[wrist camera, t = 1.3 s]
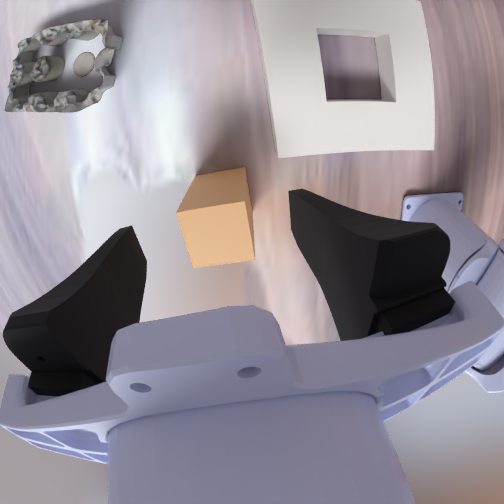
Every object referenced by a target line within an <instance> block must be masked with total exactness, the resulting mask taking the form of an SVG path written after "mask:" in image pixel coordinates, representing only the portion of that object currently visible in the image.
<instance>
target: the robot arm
mask: <svg viewBox="0 0 504 504" xmlns="http://www.w3.org/2000/svg"><path fill="white" fill-rule="evenodd" d="M462 203H463V194H462V193H461V192H454V193H438V194H424V195H411V196H406V197H405V198H404V200H403V209H402V218H401V220H395V219H389V218H384V217H380V216H375V215H371V214H367V213H364V212H360V211H357V210H354V209H351V208H348V207H346V206H343V205H340V204H338V203H335V202H333V201H330V200H328V199H326V198H324V197H321V196H319V195H317V194H314V193H312V192H310V191H307V190H304V189H297V190H292V191H289V204H290V218H291V230H292V233H293V235H294V238H295V240H296V243H297V245H298V247H299V249H300V251H301V252H302V254H303V256H304V258H305V259H306V261H307V263H308V264H309V266H310V268H311V270H312V271H313V273H314V275H315V277H316V278H317V280H318V282H319V284H320V286H321V288H322V291H323V293H324V295H325V298H326V300H327V303H328V305H329V308H330V311H331V313H332V316H333V319H334V322H335V325H336V327H337V330H338V334H339V337H340V340H341V341H336V342H325V343H312V344H297V345H285V342H284V339H283V336H282V332H281V329H280V326H279V324H278V322H277V321H276V319H275V317H274V316H273V314H272V313H271V312H269V311H266V310H263V309H261V308H258V307H256V306H252V305H248V306H228V307H223V308H218V309H213V310H208V311H203V312H198V313H192V314H187V315H182V316H176V317H171V318H165V319H159V320H153V321H147V322H142V323H139V320H140V313H141V307H142V301H143V294H144V288H145V283H146V272H147V260H146V258H145V256H144V253H143V251H142V249H141V246H140V244H139V241H138V239H137V237H136V234H135V232H134V229H133V227H132V226H129V227H124V228H121V229H119V230H118V231H117V232H115V233H114V234H113V235H112V236H111V237H110V238H109V239H108V240H107V241H106V242H105V243H104V244H103V245H102V246H101V247H100V248H99V249H98V250H97V251H96V252H95V253H94V254H93V255H92V256H90V258H88V259H87V260H86V261H85V262H84V263H83V264H82V265H81V266H80V267H79V268H78V269H77V270H76V271H75V272H73V273H72V274H71V275H70V276H69V277H68V278H66V279H65V280H64V281H62V282H61V283H60V284H58V285H57V286H56V287H54V288H53V289H52V290H50V291H49V292H47V293H46V294H44V295H43V296H41V297H40V298H38V299H37V300H35V301H33V302H32V303H30V304H28V305H26V306H24V307H22V308H21V309H19V310H17V311H15V312H13V313H12V314H11V315H10V317H9V319H8V322H7V324H6V326H5V328H4V331H3V338H4V341H5V343H6V345H7V346H8V348H9V349H10V350H11V351H12V353H13V354H14V355H15V356H16V357H17V358H18V359H19V360H20V361H21V362H22V363H23V364H24V365H25V366H26V367H28V369H30V370H31V371H32V372H31V376H30V378H29V377H28V376H25V375H17V374H16V375H15V374H10V375H9V377H8V380H7V384H6V388H5V391H4V395H3V399H2V403H1V408H0V425H1V426H2V427H4V428H5V429H7V430H8V431H10V432H11V433H13V434H15V435H16V436H18V437H20V438H21V439H23V440H25V441H27V442H29V443H30V444H32V445H34V446H36V447H38V448H41V449H45V450H48V451H52V452H57V453H60V454H64V455H68V456H72V457H77V458H81V459H86V460H90V461H95V462H100V463H106V464H107V480H108V503H109V504H415V501H414V498H413V495H412V493H411V490H410V487H409V485H408V482H407V479H406V476H405V474H404V471H403V468H402V466H401V463H400V461H399V458H398V455H397V453H396V450H395V448H394V446H393V443H392V441H391V438H390V436H389V433H388V431H387V428H386V426H385V424H384V421H386V420H388V419H390V418H391V417H393V416H395V415H397V414H399V413H401V412H402V411H404V410H406V409H408V408H410V407H411V406H413V405H415V404H416V403H418V402H420V401H421V400H423V399H424V398H426V397H428V396H429V395H431V394H432V393H434V392H435V391H437V390H438V389H440V388H442V387H443V386H445V385H446V384H447V383H449V382H450V381H452V380H453V379H455V378H456V377H458V376H459V375H461V374H462V373H463V372H464V373H466V374H468V375H470V376H471V377H472V378H473V379H475V380H476V381H477V382H478V384H479V385H480V386H481V387H482V388H484V390H485V391H486V392H488V393H493V392H504V239H502V240H501V241H500V243H499V245H498V244H497V243H496V242H495V241H494V240H493V239H492V238H491V237H489V236H488V235H487V234H486V233H485V232H484V231H483V230H482V229H481V228H480V227H478V226H477V225H476V224H475V223H474V222H473V221H471V220H470V219H469V218H468V217H467V216H466V215H464V214H463V213H462V212H461V208H462ZM407 205H409V206H408V207H407Z"/></svg>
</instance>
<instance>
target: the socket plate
mask: <svg viewBox="0 0 504 504" xmlns="http://www.w3.org/2000/svg"><path fill="white" fill-rule="evenodd" d="M250 1H251V6H252V11H253V16H254V22H255V27H256V32H257V38H258V43H259V49H260V55H261V61H262V67H263V73H264V79H265V85H266V92H267V98H268V105H269V111H270V118H271V125H272V132H273V140H274V147H275V152H276V154H277V156H278V158H286V157H295V156H305V155H315V154H327V153H340V152H356V151H379V150H434V138H435V106H434V85H433V72H432V63H431V54H430V47H429V40H428V34H427V29H426V24H425V19H424V14H423V10H422V5H421V2H419V1H416V0H250ZM317 34H326V35H349V36H362V37H372V38H375V44H376V51H377V58H378V66H379V75H380V86H381V98H382V100H370V99H335V100H326V91H325V83H324V75H323V68H322V61H321V54H320V48H319V42H318V36H317Z"/></svg>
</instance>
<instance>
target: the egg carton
mask: <svg viewBox="0 0 504 504" xmlns="http://www.w3.org/2000/svg"><path fill="white" fill-rule="evenodd" d="M99 33H101V34H102V36H103V41H102V42H103V44H104V45H105V47H107V48H105V49H103V50H102V51H100V53H99V54H98V55H97V57H96V59H95V57H94V55H93V54H92V53H91V52H85V53H82V54H81V55H79V56H78V57H77V59H76V60H75V62H74V72H75V74H76V75H78V76H86V75H87V74H89V73H90V72H91V71H92V70H93V68H94V65H95V69H96V71H97V72H98V73H99V74H101V75H102V76H103V83H102V85H101V86H100V87H97V88H95V89H92V90H91V92H90V93H88V92H87V91H86V90H85V89H73V90H66V91H63V92H59V93H57V92H55V91H50V92H43V93H34V94H32V95H31V94H29V87H30V85H31V83H32V82H33V81H35V82H42V81H49V80H55V79H57V78H58V77H59V76H60V75H61V74H62V72H63V70H64V66H65V63H64V59H63V58H62V57H60V56H42V57H40V58H39V59H38V60H37V62H34V61H33V54H34V52H35V51H36V50H38V49H39V48H40V47H41V45H51V46H59V45H62V44H63V43H65V42H66V41H67V40H68V38H69V39H72V38H74V39H79V40H85V41H89V40H92V39H94V38H95V37H97V36H98V35H99ZM122 41H123V38H121V37H118V36H116V35H115V33H114V31H113V28H112V27H111V26H109V25H108V20H105V21H103V19H98V20H86V21H78V22H75V23H70V24H63V25H59V26H54V27H49V28H47V29H45V30H42V31H40V32H39V33H37V34H35V35H33V36H32V37H30V38H26V39H24V40H22V41H21V42H20V43H18V48H19V53H18V56H17V58H16V59H14V60H13V66H14V68H13V71H12V73H11V75H10V76H11V79H10V83H9V86H8V89H9V96H8V99H7V102H6V106H5V111H6V112H77V111H80V110H82V109H84V108H86V107H88V106H90V105H92V104H95V103H98V102H99V101H100V99H101V96H102V94H103V93H104V92H105V91H106V90H107V89H109V88H112V87H113V86H114V81H115V75H112V74H110V73H109V72H108V71H107V69H106V66H109V65H110V63H111V60H112V57H113V54H114V51H116V50H118V49H120V48H121V45H122Z"/></svg>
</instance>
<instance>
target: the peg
mask: <svg viewBox="0 0 504 504" xmlns="http://www.w3.org/2000/svg"><path fill="white" fill-rule="evenodd" d="M176 213H177V217H178V220H179V223H180V227H181V230H182V233H183V236H184V240H185V243H186V246H187V249H188V252H189V255H190V258H191V261H192V264H193V267H194V268H197V267H205V266H212V265H220V264H228V263H235V262H243V261H250V260H255V249H254V230H253V212H252V206H251V200H250V194H249V188H248V182H247V176H246V170H245V167H242V168H236V169H230V170H224V171H218V172H213V173H207V174H202V175H197V176H195V178H194V180H193V182H192V183H191V185H190V187H189V189H188V191H187V193H186V195H185V197H184V199H183V200H182V203H181V204H180V206H179V209H178V210H177V212H176Z"/></svg>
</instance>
